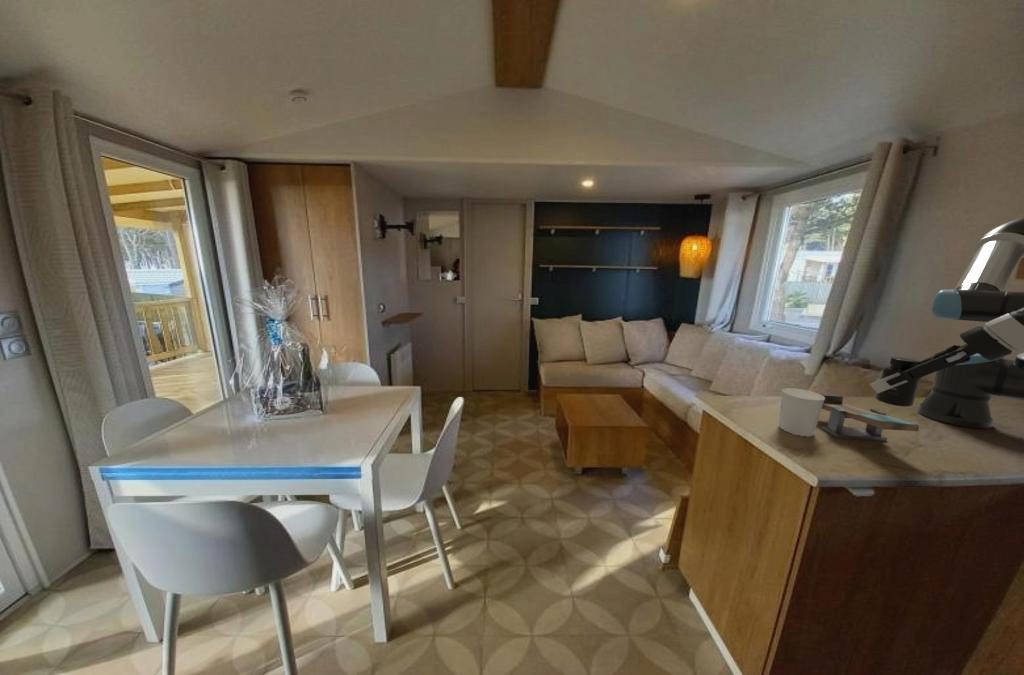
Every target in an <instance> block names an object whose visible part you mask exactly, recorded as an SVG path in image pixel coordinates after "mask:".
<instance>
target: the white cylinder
mask: <svg viewBox="0 0 1024 675" xmlns="http://www.w3.org/2000/svg"><path fill="white" fill-rule="evenodd" d="M820 394H821V393H817V392H814V391H811V390H807V389H801V388H790V387H789V388H782V390H781V402H780V408H779V409H780V410H779V411H780V412H779V420H778V423H779V424H778V427H779V429H780V428H781V430H782V429H783V430H784V431H783V430H782V431H783V432H785V431H787V432H789V433H788V434H790V433H792V434H791V435H793V434H795V435H794V436H797V435H800V436H799V437H803V436H806V437H807V438H808V437H809V438H811V437H814V435H815V432H816V429H817V425H818V422H819V420H820V415H821V413H822V412H821V411H822V410H823V409H822V406H823V403H824V400H825V397H824V396H822V395H820ZM787 432H786V433H787ZM806 437H805V438H806Z"/></svg>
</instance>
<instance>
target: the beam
mask: <svg viewBox="0 0 1024 675" xmlns="http://www.w3.org/2000/svg"><path fill="white" fill-rule="evenodd" d="M819 394H820V395H822V396H824V397H825V400H824V403H823V406H822V409H821V410H824V411H828V412H830V413H831V409H832V407H839V408H841V409H843V410H845V411H846V415H845V419H852V420H854V421H857V422H861V423H864V424H866V425H867V424H870V425H873V426H876V427H879V428H882V430H889V431H890V430H891V431H905V432H906V431H907V432H911V431H912V432H919V429H920V428H919V427H920V425H919V424H918V423H914V422H911V421H906V420H903V419H901V418H897V417H893V416H890V415H887V414H886V415H881V414H878V413H874V412H871V411H870V410H867V409H865V408H864V409H863V408H860V407H856V406H853V405H849V404H847V403H843V401H844V400H843V399H844V396H842V395H839V394H835V393H819Z"/></svg>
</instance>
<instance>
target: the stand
mask: <svg viewBox="0 0 1024 675" xmlns="http://www.w3.org/2000/svg"><path fill="white" fill-rule="evenodd" d="M869 411H871V412H874V413H878V414H881V415H886V416H887V412H884V411H883V410H880V409H878V408H870V410H869ZM845 415H846V411H845V410H843V409H841V408H839V407H832V409H831V412H830V415H829V419H828V422H827V425H822V426H821V430H823V431H824V432H826V433H827V434H829V433H830V434H829V435H831V436H833V437H835V438H836V439H842V440H843V439H845V440H846V439H847V440H860V441H861V440H862V441H863V440H864V441H879V442H887V441H888V437H886V436H885V435H882V432H883V429H882V428H879V427H876V426H873V425H870V424H867V423H866V426H865V427H846V426H844V423H845V419H846V418H845Z"/></svg>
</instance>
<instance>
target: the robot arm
mask: <svg viewBox="0 0 1024 675" xmlns="http://www.w3.org/2000/svg"><path fill="white" fill-rule="evenodd" d="M972 248H973V249H972V255H973V257H972V259H971V261H970V262H969V264H968V265H967V268H966V269H965V271H963V272H964V273H963V274H962V276H961V277H960V279H959V281H958V282H957V284H956V286H955V288H952V289H941V290H939V291H938V292H937V293H936V294H935V297H934V299H933V303H932V306H931V308H932V309H931V314H932V317H935V318H940V319H948V320H953V321H971V322H972V321H973V322H982V323H983V322H984V326H976V327H974V328H971V329H969V330H966V331H964V332H962V333H960V334H959V337H960V339H961V340H962V341H963V342H964V343H965V344H963V345H959V344H958V345H956V344H954V345H951V346H949V347H947V348H946V349H945V350H942V351H938V352H937V353H935V354H933V355H932V356H929V357H927V358H924V359H923V360H918V361H919V364H918V365H917V366H915V367H912V368H910V369H908V370H905V371H901V370H897V372H898V373H896V374H893V375H891V376H888V377H886V378H883V379H881V380H880V377H879V378H876V379H875V381H873V382H871V383H869V386H870V387H871V388H872V389H873V390H874V391H875V393H876V392H877V393H880V392H883V391H885V390H888V389H891V388H893V387H896V386H898V385H901V384H904V383H906V382H909V381H915V380H916V379H918V378H922V377H926V376H928V375H931V374H934V373H935V377H934V381H933V384H932V388H931V391H930V392H929V394H928V395H927V396H926V397H925V398H924V399H923V401H922V402H921V403H920V404H919V406H918V409H917V413H919V414H921V415H922V416H924V417H927V418H929V419H932V420H935V421H938V422H943V423H946V424H949V425H955V426H959V427H964V426H965V427H964V428H970V427H972V429H981V430H982V429H984V430H986V429H991V428H992V427H993V423H994V419H993V417H992V412H991V407H990V406H991V405H990V400H991V398H992V396H997V397H1001V398H1005V399H1010V400H1011V399H1012V400H1017V401H1022V402H1024V352H1022V353H1021V352H1020V353H1019V354H1016V357H1015V359H1006V358H1005V357H1006V356H1008V355H1011V354H1012V353H1013V350H1015V351H1021V350H1024V291H1005V290H1006V288H1007V287H1008V284H1009V282H1010V281H1011V278H1012V276H1013V274H1014V272H1015V270H1016V268H1017V266H1018V263H1019V261H1020V260H1022V259H1023V258H1024V216H1023V217H1020V218H1017V219H1016V218H1015V219H1014V220H1010V221H1008V222H1005V223H1003V224H1001V225H999V226H997V227H994V228H993V229H991V230H990V231H988V232H986V233H985V234H984V235H982V236H981V237H980V238H979V239H978V240H977V241H976V243H975V244H974V246H973V247H972ZM910 373H911V374H912V375H913V376H912V375H911V374H910Z"/></svg>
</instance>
